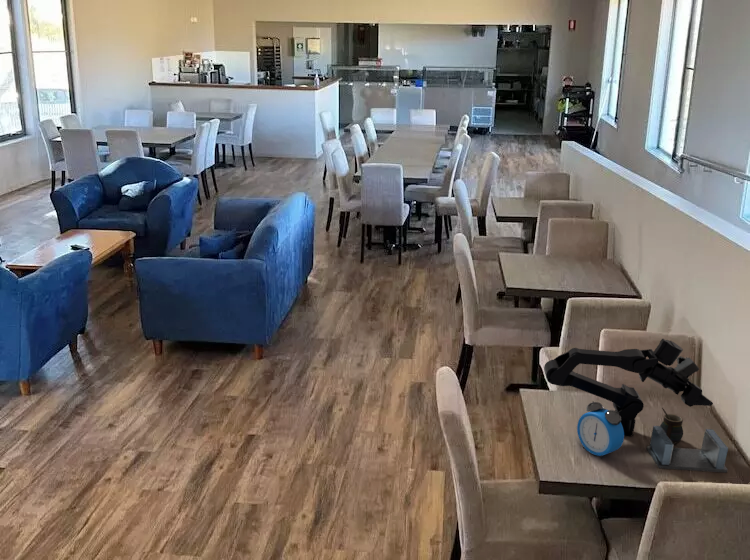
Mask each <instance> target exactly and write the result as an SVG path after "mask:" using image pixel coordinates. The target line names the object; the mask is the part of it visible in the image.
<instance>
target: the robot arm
mask: <svg viewBox="0 0 750 560" xmlns="http://www.w3.org/2000/svg"><path fill="white" fill-rule="evenodd" d="M658 343H659V344H658V345H657V346H656V348H655V349H654V350H653V349H651V348H650V349H649V348H648V349H638V348H630V349H629V348H628V349H626V348H625V349H623V350H619V351H609V350H599V349H598V350H597V349H596V350H595V349H585V348H577V347H572V348H570V350H568V351H566V352H564V353H562V354H560V355H558V356H557V357H555V358H554V359H551V360H548V361H547V362H545V364H544V366H543V370H544V371H543V372H544V375H545V378H546V380H547V383H549V384H550V385H554V386H560V387H573V388H575V389H578V390H580V391H582V392H586V393H589V394H590V395H593V396H596V397H599V398H601V399H604V400H607V401H609V402H612V406H613V408H614V411H616V412H618V413H619V414H620V416H621V424H622V426H623V430H624V437H625V436H626V437H627V436H628V437H634V435H635V434H634V431H635V425H636V418H637V416H638V415H639V414H640V413H641V412H642V411H643V409H644V405H645V404H644V401H643V400H642V398H641V396H640V394H639V392H638V391H637V390H636V389H635V387H632V386H627V385H626V384H624V383H622V384H621V387H614V386H612V385H608V384H607V383H604V382H601V381H598V380H596V379H593V378H591V377H588V376H585V375H583V374H580V373H578V372H575V371H574V370H575V368H577V366H579V365H593V366H605V367H616V368H620V369H621V370H625V371H627V372H631V373H635V374H638V378H639V380H640V381H641V383H645V381H646V379H649V380H652V381H654V382H655V383H658V384H659V385H661V386H662V387H663V388H664V389H669V390H670V391H672V393H674V394H675V395H677V396H678V395H679V394H680V393H682V394H681V395H680V400H681V401H682V402H683V403H684V405H686V406H688V407H693V406H704V407H707V406H708V407H712V406H713V402H712V401H711V400H710V399H709V398H707V396H705V395H704V394H703V389H702V388H701V387H700V386H699V385H697V384H695V383H693V382H691V381H690V378H689V377H691V376H692V375H693V374H695V373H697V372H698V371H699V370H700V368H699V366H698V365H697V364H696V363H695V361H694V360H693V359H692V358H691V357H687V356H685V357H684V356H682V355H681V353H682V352H683V351H684V349H683V348H682V347H681V346H680V345H679V344H678V343H676V342H674V341H672V340H668V339H666V338H661V340H660V341H659V342H658ZM680 355H681V356H680ZM675 362H677V364H676V367H672V366H673V364H675Z"/></svg>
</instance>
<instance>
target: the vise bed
mask: <svg viewBox="0 0 750 560" xmlns="http://www.w3.org/2000/svg"><path fill="white" fill-rule="evenodd" d="M700 448H701V449H700ZM700 448H699V449H697V448H684V447H683V448H682V447H673V451H672V456H671V461H670V463H669V465H662V464H661V462H660V461H659V459H658V458H657V456H656V454H655V453H654V451H653V450H652V448H651V446H650V445H646V450H647V452H648V454H649V456H650V457H651V459H652V460H653V462H654V464H655V465H656V466H657V468H658V469H664V470H665V469H666V470H677V471H679V470H681V471H694V472H708V473H709V472H710V473H713V472H714V473H728V471H729V470H728V468H727V467H726V465H725V464H726V460H727V454H728V451H729V447H728V446H727V445H726V444H725V442H724V441H723V440H722V439H721V438H720V436H719V435H718V434H717V432H716V431H715V430H714V429H712V428H711V429H709V428H705V430H704V434H703V440H702V444H701V447H700Z"/></svg>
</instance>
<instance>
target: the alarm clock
mask: <svg viewBox="0 0 750 560" xmlns="http://www.w3.org/2000/svg"><path fill="white" fill-rule="evenodd" d="M585 409H586V411H587V412H586V413H585V412H584V413H583V414H582V415H581V416H580V417H579V419H578V422H577V424H576V425H577V426H576V430H577V432H576V433H577V436H578V439H579V442H580V444H582V446H583V449H585V450H586V451H587V452H588V453H590V454H592V455H594V456H597V457H600V459H601V460H602V459H603V456H605V455H608V454H610V453H613V452H615V451H618V450H619V449H620V448H621V447H622V445H623V444H624V441H625V436H624V430H623V426H622V424H621V416H620V414H619V413H618V412H616V411H615V409H607V408H604V406H603V404H602V403H600V402H598V401H593V400H592V402H590V403H588V404H587V405H586V408H585Z"/></svg>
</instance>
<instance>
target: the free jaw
mask: <svg viewBox="0 0 750 560" xmlns="http://www.w3.org/2000/svg"><path fill="white" fill-rule="evenodd" d="M650 436H651V437H650V443H649V446H651V448H652V450H653V451H654V453H655V454H656V456H657V458H658V459H659V461H660V462H661V464H662V465H669V463H670V461H671V456H672V451H673V448H674V445H675V444H673V443H672V442H671V440H670V439H669V437H668V436H667V434H666V433H665V431H664V430H663V429H662V428H661V426H660V425H653V426H652V432H651V435H650Z"/></svg>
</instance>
